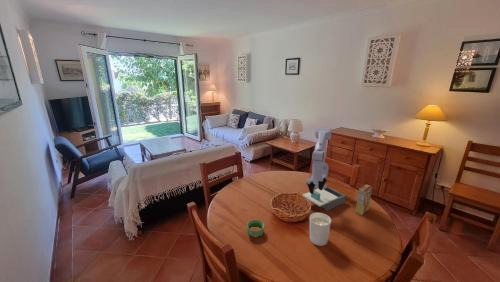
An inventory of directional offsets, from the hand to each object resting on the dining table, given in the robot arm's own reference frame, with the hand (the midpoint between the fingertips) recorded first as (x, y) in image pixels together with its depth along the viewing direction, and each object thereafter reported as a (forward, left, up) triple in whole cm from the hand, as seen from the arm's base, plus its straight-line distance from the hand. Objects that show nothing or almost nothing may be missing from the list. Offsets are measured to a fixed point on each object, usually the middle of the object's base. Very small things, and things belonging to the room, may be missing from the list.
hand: (315, 191), depth 129 cm
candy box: (+18, +20, -11) cm, 29 cm away
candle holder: (+21, -20, -11) cm, 30 cm away
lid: (0, +4, -5) cm, 6 cm away
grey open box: (0, +11, -10) cm, 15 cm away
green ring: (0, -43, -11) cm, 44 cm away
